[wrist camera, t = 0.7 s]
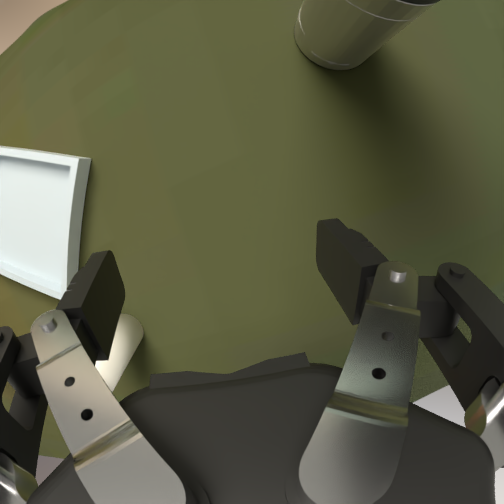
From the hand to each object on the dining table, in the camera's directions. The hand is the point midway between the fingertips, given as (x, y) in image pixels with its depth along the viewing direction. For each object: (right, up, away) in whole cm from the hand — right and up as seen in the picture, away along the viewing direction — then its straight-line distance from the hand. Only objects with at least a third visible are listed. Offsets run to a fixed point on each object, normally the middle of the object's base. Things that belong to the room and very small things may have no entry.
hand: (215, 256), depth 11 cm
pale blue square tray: (-29, +5, +21) cm, 36 cm away
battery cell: (-15, -10, +26) cm, 31 cm away
